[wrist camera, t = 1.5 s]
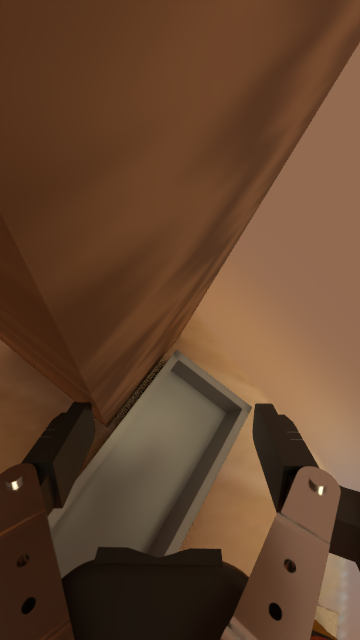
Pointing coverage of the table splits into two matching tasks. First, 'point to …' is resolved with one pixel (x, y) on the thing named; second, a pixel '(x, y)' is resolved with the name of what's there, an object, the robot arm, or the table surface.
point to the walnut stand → (142, 165)
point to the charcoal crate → (151, 468)
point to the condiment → (324, 625)
